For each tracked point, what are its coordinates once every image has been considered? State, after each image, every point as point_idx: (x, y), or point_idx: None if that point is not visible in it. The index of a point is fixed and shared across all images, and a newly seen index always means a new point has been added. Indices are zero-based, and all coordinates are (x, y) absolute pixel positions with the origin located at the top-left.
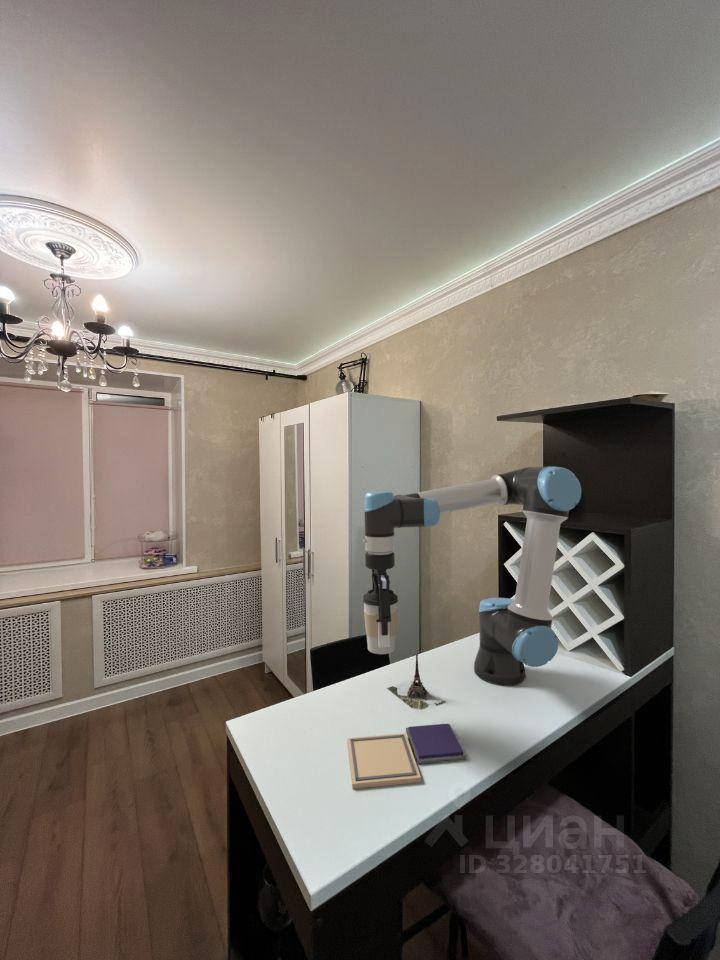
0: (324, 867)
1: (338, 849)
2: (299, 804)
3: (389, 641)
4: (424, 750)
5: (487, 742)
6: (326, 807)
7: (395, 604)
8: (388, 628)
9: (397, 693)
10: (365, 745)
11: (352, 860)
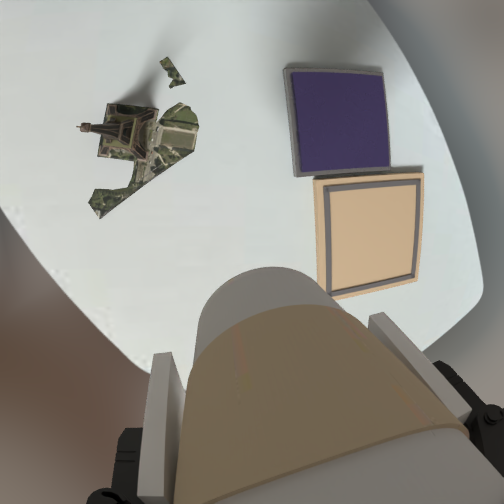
0: (476, 291)
1: (468, 282)
2: (416, 335)
3: (398, 329)
4: (378, 151)
5: (330, 15)
6: (428, 305)
7: (499, 487)
8: (440, 380)
9: (122, 188)
10: (344, 267)
11: (479, 267)
